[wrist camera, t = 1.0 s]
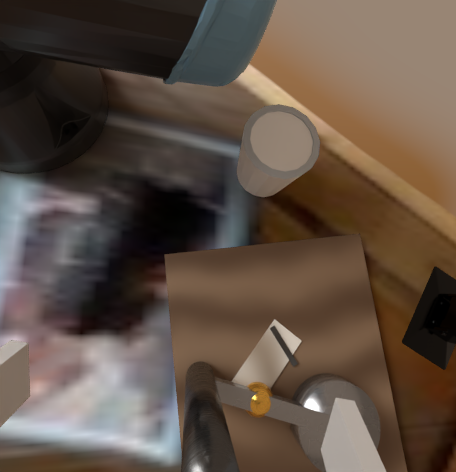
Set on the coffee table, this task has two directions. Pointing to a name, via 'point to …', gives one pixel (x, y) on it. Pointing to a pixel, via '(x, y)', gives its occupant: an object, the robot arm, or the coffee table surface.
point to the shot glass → (276, 149)
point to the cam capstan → (261, 415)
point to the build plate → (434, 320)
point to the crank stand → (280, 335)
